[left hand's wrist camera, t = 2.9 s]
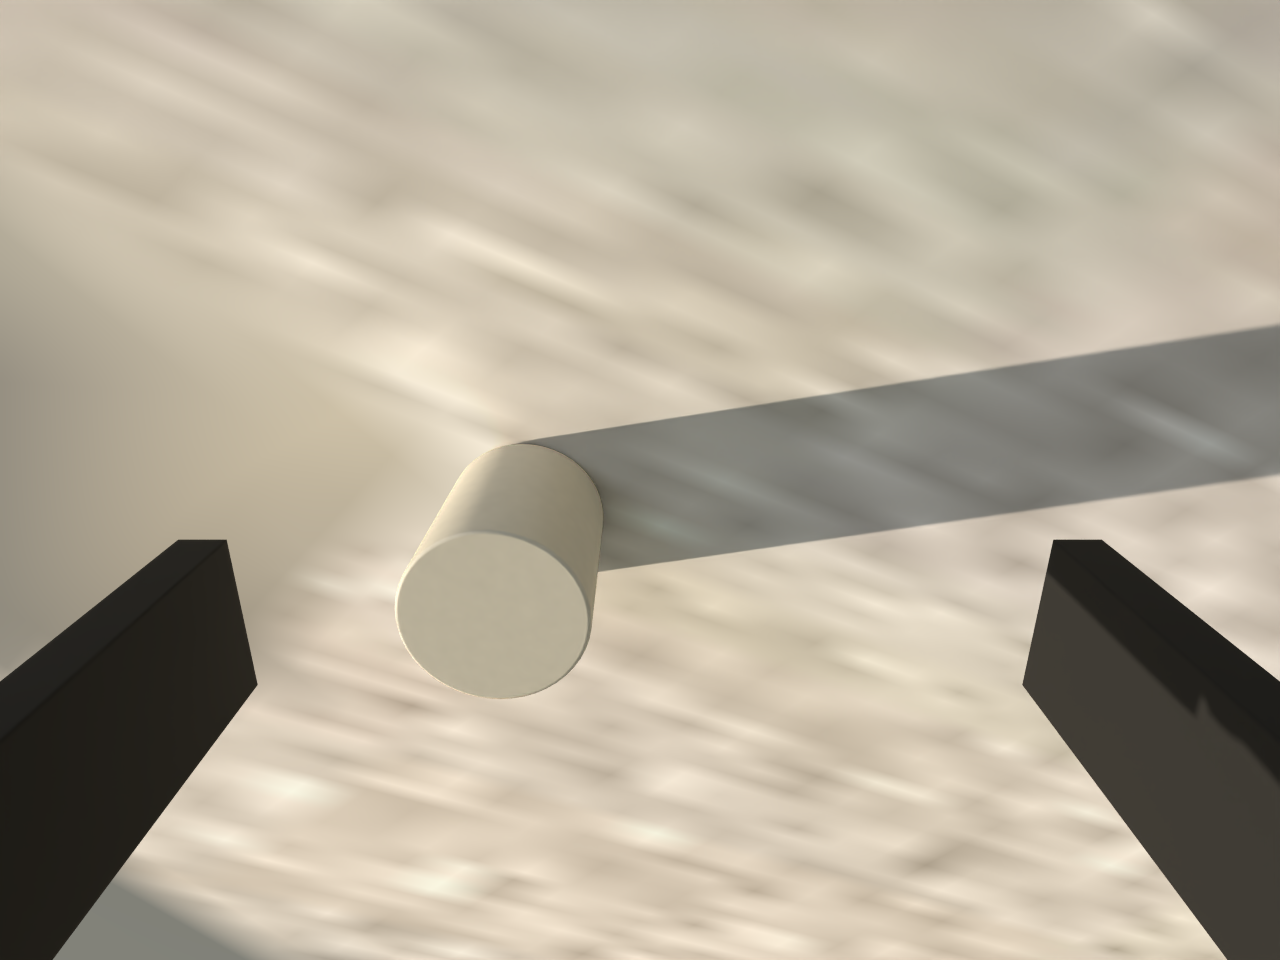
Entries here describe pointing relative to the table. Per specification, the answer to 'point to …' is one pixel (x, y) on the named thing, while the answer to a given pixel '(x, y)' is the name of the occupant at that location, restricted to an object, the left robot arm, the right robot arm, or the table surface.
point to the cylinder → (505, 575)
